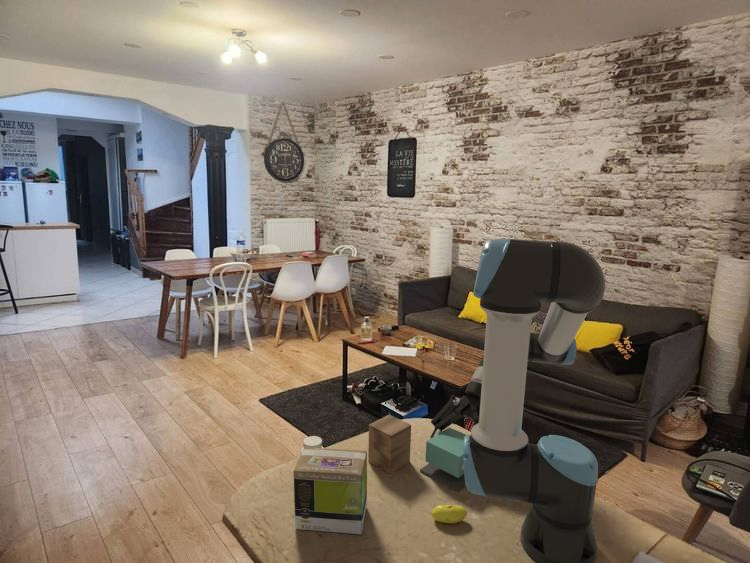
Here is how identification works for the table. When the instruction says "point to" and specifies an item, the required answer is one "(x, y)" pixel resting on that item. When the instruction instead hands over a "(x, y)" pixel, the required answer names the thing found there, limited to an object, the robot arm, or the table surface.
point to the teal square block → (446, 451)
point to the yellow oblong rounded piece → (449, 513)
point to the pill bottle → (312, 442)
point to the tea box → (330, 490)
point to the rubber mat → (444, 477)
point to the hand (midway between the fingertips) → (446, 461)
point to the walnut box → (389, 443)
